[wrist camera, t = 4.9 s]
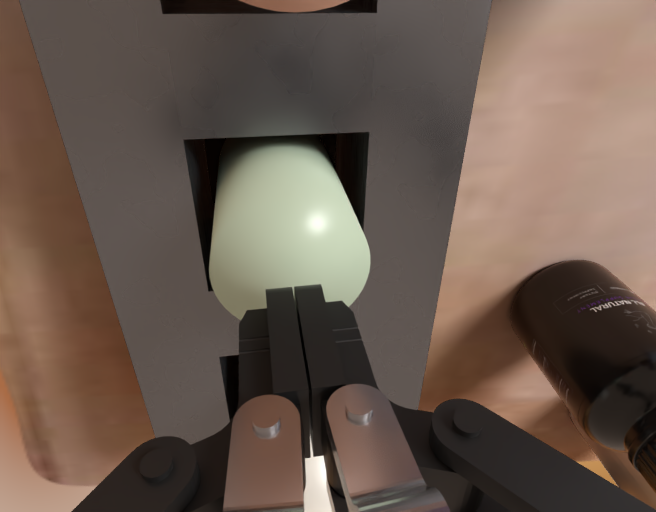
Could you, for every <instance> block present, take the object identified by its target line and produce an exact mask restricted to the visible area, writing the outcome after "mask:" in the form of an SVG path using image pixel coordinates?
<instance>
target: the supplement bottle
mask: <svg viewBox="0 0 656 512" xmlns="http://www.w3.org/2000/svg"><path fill="white" fill-rule="evenodd" d="M510 319H511V325H512V328H513V330H514V332H515V333H516V335H517V336H518V338H519V339H520V341H521V343H522V344H523V345H524V347H525V348H526V350H527V351H528V353H529V354H530V355H531V357H532V358H533V360H534V361H535V362H536V364H537V365H538V367H539V368H540V370H541V371H542V372H543V374H544V375H545V377H546V378H547V380H548V381H549V382H550V384H551V385H552V387H553V388H554V390H555V391H556V392H557V394H558V395H559V397H560V398H561V399H562V401H563V402H564V404H565V405H566V407H567V408H568V409H569V411H570V412H571V414H572V415H573V417H574V418H575V419H576V421H577V422H578V424H579V425H580V426H581V428H582V429H583V430H584V432H585V433H586V434H587V436H588V437H589V438H591V439H592V440H593V441H594V442H596V443H597V444H599V445H601V446H603V447H605V448H607V449H610V450H613V451H617V452H622V453H628V459H629V461H630V462H631V464H632V465H633V467H634V468H635V469H636V470H637V471H638V472H639V473H641V475H642V476H643V477H644V479H645V480H646V481H647V483H648V484H649V485H650V487H651V488H652V489H653V491H654V492H655V493H656V311H654V310H653V309H652V308H651V307H650V306H649V305H648V304H646V303H645V302H644V301H643V300H642V299H641V298H640V297H639V296H637V295H636V294H635V293H634V292H633V291H632V290H631V289H629V288H628V287H627V286H626V285H625V284H624V283H623V282H621V281H620V280H619V279H618V278H617V277H615V276H614V275H613V274H612V273H611V272H610V271H608V270H607V269H606V268H604V267H603V266H601V265H600V264H597V263H595V262H591V261H586V260H571V261H565V262H561V263H558V264H555V265H552V266H550V267H548V268H546V269H544V270H542V271H541V272H539V273H538V274H536V275H535V276H533V277H532V278H531V279H530V280H529V281H528V282H527V283H526V284H525V285H524V286H523V287H522V288H521V290H520V291H519V292H518V294H517V296H516V297H515V299H514V302H513V304H512V308H511V314H510Z"/></svg>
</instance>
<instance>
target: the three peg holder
mask: <svg viewBox="0 0 656 512" xmlns="http://www.w3.org/2000/svg"><path fill="white" fill-rule="evenodd" d="M19 2H20V5H21V8H22V11H23V15H24V18H25V21H26V24H27V27H28V31H29V34H30V37H31V40H32V43H33V47H34V50H35V53H36V56H37V59H38V63H39V66H40V69H41V72H42V75H43V79H44V82H45V85H46V88H47V91H48V95H49V98H50V101H51V104H52V107H53V111H54V114H55V117H56V120H57V123H58V127H59V130H60V133H61V136H62V139H63V143H64V146H65V149H66V152H67V155H68V159H69V162H70V165H71V168H72V171H73V175H74V178H75V181H76V184H77V188H78V191H79V194H80V197H81V200H82V204H83V207H84V210H85V213H86V216H87V220H88V223H89V226H90V229H91V232H92V236H93V239H94V242H95V245H96V248H97V252H98V255H99V258H100V261H101V264H102V268H103V271H104V274H105V277H106V280H107V284H108V287H109V290H110V293H111V296H112V300H113V303H114V306H115V309H116V312H117V316H118V319H119V322H120V325H121V328H122V332H123V335H124V338H125V341H126V344H127V348H128V351H129V354H130V357H131V360H132V364H133V367H134V370H135V373H136V376H137V380H138V383H139V386H140V389H141V392H142V396H143V399H144V402H145V405H146V408H147V412H148V415H149V418H150V421H151V424H152V428H153V431H154V434H155V437H156V438H158V437H163V436H174V437H179V438H181V439H183V440H185V441H187V442H188V443H189V444H190V445H191V444H194V443H196V442H198V441H201V440H203V439H205V438H208V437H210V436H212V435H214V434H216V433H217V432H219V431H220V430H222V429H223V428H224V427H225V426H226V425H227V424H228V423H229V422H230V421H231V420H232V418H233V417H234V415H235V413H236V411H237V408H238V402H239V356H234V355H239V323H240V321H241V320H239V319H238V318H236V317H235V316H233V315H232V314H231V313H230V312H229V311H228V310H226V309H225V307H224V306H223V305H222V304H221V303H220V301H219V300H218V298H217V297H216V295H215V293H214V290H213V288H212V285H211V281H210V275H209V263H210V252H211V241H212V231H213V220H214V208H213V201H212V194H211V187H210V180H209V172H208V165H207V158H206V151H205V144H204V139H209V138H233V137H257V136H281V135H305V134H329V133H336V173H337V175H338V177H339V180H340V182H341V184H342V186H343V188H344V191H345V193H346V195H347V197H348V200H349V202H350V204H351V206H352V208H353V211H354V213H355V215H356V217H357V219H358V222H359V224H360V226H361V228H362V231H363V233H364V235H365V237H366V240H367V243H368V246H369V250H370V270H369V275H368V278H367V281H366V283H365V285H364V288H363V290H362V291H361V293H360V294H359V296H358V297H357V298H356V300H355V301H354V302H353V303H352V304H351V305H350V306H349V308H350V309H351V310H352V311H353V312H354V316H355V319H356V322H357V325H358V329H359V331H360V334H361V337H362V341H363V344H364V347H365V350H366V353H367V356H368V359H369V362H370V365H371V368H372V372H373V375H374V378H375V381H376V384H377V386H378V388H379V390H380V391H381V392H382V393H383V394H384V395H385V396H386V397H387V398H388V399H389V400H390V401H392V402H393V403H395V404H397V405H399V406H402V407H405V408H408V409H414V410H418V407H419V401H420V396H421V390H422V385H423V379H424V373H425V368H426V362H427V357H428V351H429V346H430V340H431V335H432V329H433V324H434V318H435V313H436V307H437V301H438V296H439V290H440V285H441V279H442V274H443V268H444V263H445V257H446V252H447V246H448V241H449V235H450V230H451V224H452V218H453V213H454V207H455V202H456V196H457V191H458V185H459V180H460V174H461V169H462V163H463V158H464V152H465V147H466V141H467V135H468V130H469V124H470V119H471V113H472V108H473V102H474V97H475V91H476V86H477V80H478V75H479V69H480V64H481V58H482V52H483V47H484V41H485V36H486V30H487V25H488V19H489V14H490V8H491V3H492V0H350V1H347V2H344V3H342V4H339V5H337V6H334V7H330V8H326V9H321V10H317V11H309V12H296V13H295V12H281V11H273V10H268V9H264V8H259V7H255V6H253V5H250V4H247V3H245V2H242V1H239V0H19Z"/></svg>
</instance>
